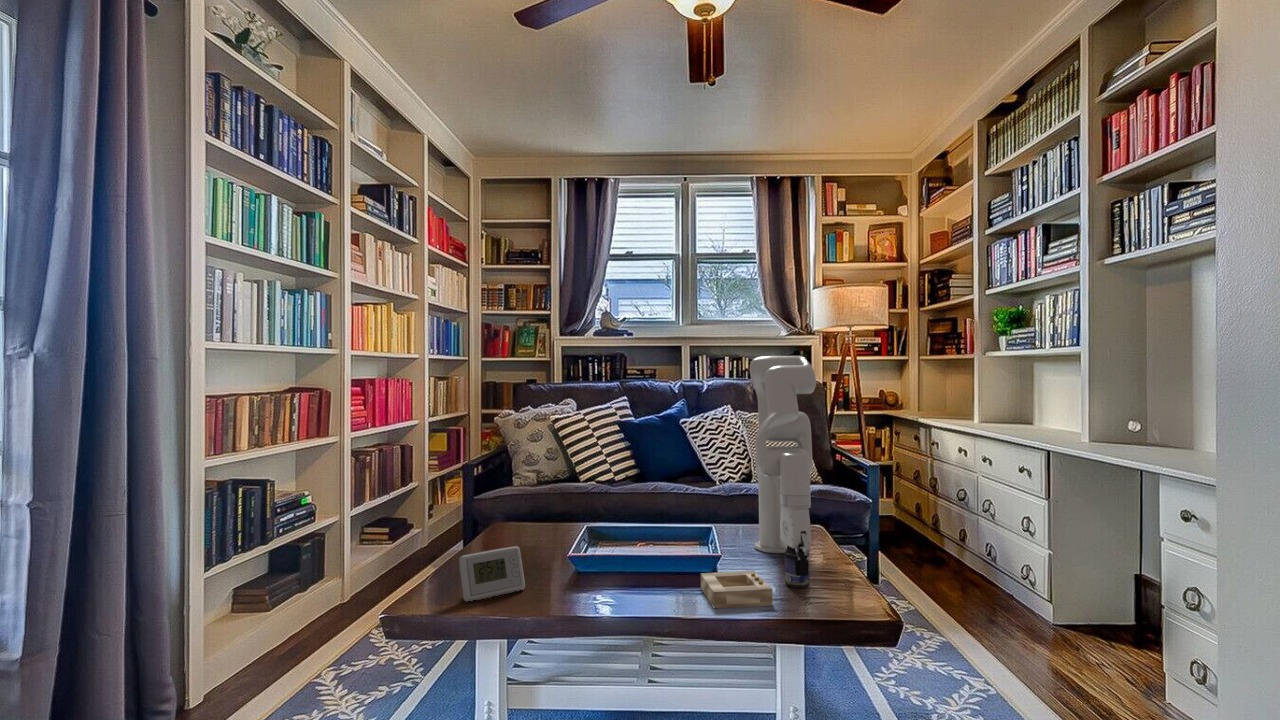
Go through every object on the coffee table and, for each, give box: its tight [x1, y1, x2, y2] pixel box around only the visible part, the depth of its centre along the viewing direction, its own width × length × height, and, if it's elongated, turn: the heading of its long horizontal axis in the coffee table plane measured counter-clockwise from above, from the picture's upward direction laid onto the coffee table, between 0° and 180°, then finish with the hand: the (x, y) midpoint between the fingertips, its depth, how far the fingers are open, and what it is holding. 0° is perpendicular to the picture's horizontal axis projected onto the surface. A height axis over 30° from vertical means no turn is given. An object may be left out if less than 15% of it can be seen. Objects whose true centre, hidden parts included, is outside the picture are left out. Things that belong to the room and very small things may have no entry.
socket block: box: [700, 570, 774, 609], centre depth 151 cm, size 14×14×4 cm
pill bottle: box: [783, 545, 810, 589], centre depth 160 cm, size 6×6×11 cm
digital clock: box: [458, 545, 526, 603], centre depth 155 cm, size 16×9×11 cm, turn 114°
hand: (796, 570), depth 160 cm, fingers closed on pill bottle, 6 cm apart
